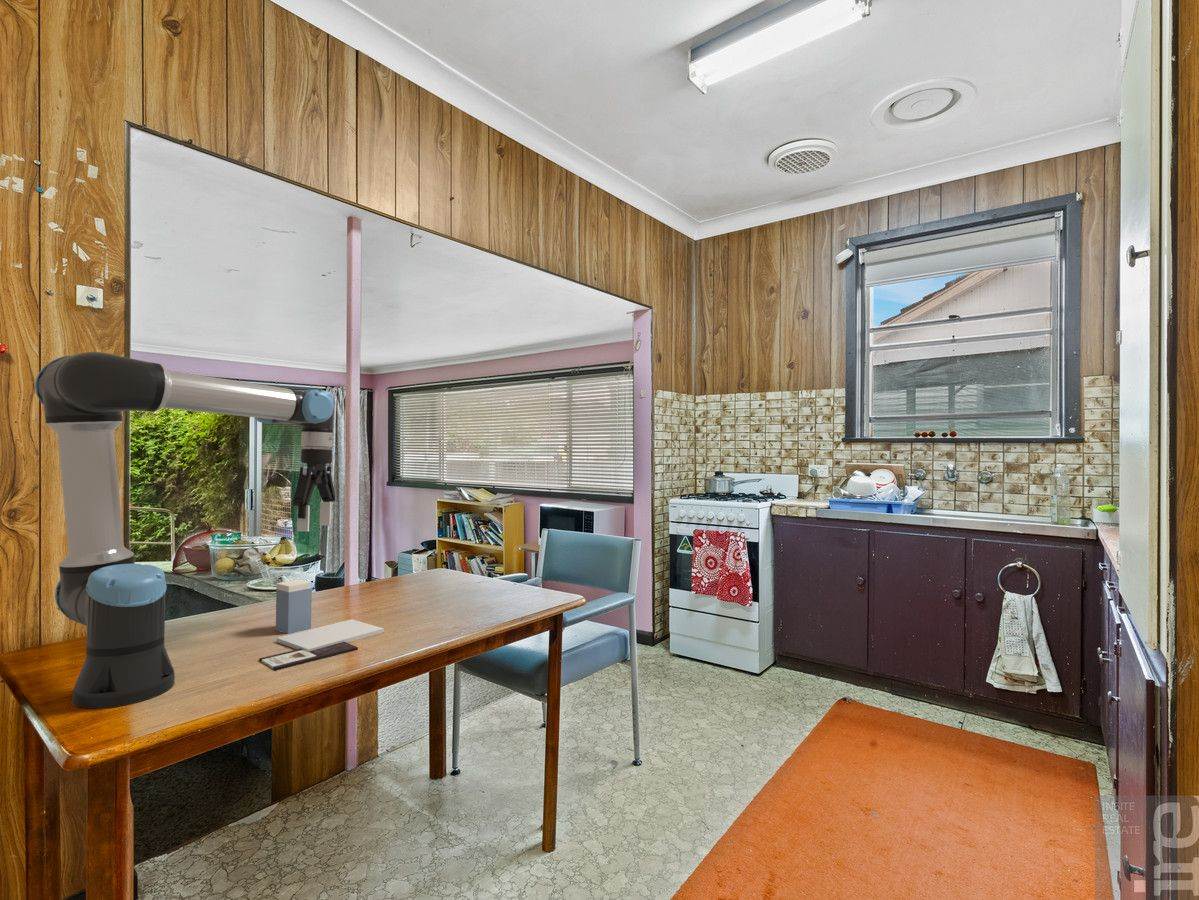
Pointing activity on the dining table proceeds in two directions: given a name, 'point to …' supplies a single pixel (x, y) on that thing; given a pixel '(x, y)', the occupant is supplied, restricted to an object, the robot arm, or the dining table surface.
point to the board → (329, 635)
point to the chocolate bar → (305, 656)
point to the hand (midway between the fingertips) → (314, 528)
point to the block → (293, 606)
